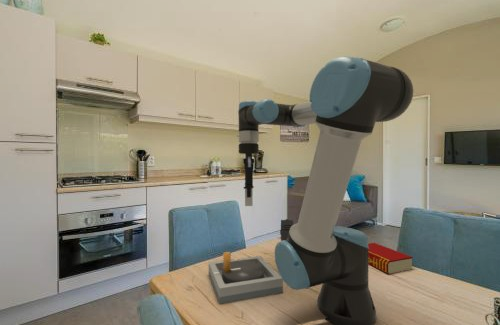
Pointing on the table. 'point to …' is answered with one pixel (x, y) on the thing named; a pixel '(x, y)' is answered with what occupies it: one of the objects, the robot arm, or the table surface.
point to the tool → (285, 228)
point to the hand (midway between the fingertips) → (248, 205)
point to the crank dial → (240, 270)
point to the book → (388, 259)
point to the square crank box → (245, 282)
